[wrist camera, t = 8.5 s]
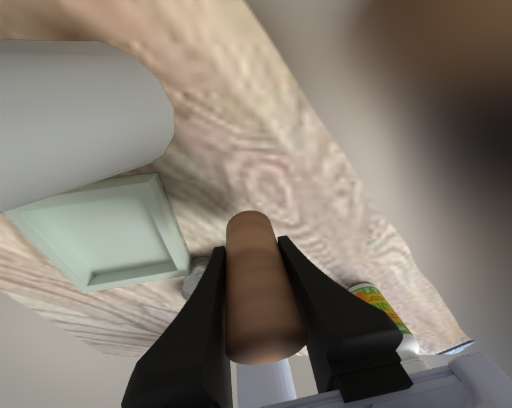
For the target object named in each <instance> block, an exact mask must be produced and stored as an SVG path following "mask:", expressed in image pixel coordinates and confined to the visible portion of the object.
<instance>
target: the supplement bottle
mask: <svg viewBox="0 0 512 408" xmlns="http://www.w3.org/2000/svg"><path fill="white" fill-rule="evenodd" d="M348 291H349V292H351V293H352V294H354V295H356V296H357V297H359V298H361V299H362V300H364V301H366V302H368V303H369V304H371V305H373V306H375V307H377V308H379V309H381V310H383V311H385V312H386V313H387V314H388V316H389V317H390V318H391V319H392V320H393V321H394V323H395V324H396V325H397V326H398V328H399V329H400V331H401V332H402V333H403V340H402V342H401V344H400V345H399V347H398V348H397V350H396V352H397V353H398V355H399V356H400V358H401V360H402V361H401V362H400V363H401V365H402V366H403V368H404V369H405V371H406V372H407V374H410V373H414V372H419V371H423V370H428V369H430V368H429V367H428V365H427V364H426V363H425V362H424V361H423V360H422V359H419V357H418V356H417V353H418V351H419V344H418V342H417V340H416V339H415V337H414V336H413V335H412V333H411V332H410V331H409V329H408V328H407V327H406V325H405V324H404V323H403V322H402V320H401V319H400V318H399V316H398V315H397V314H396V312H395V311H394V310H393V308H392V307H391V306H390V305H389V303H388V302H387V301H386V299H385V298H384V297H383V295H382V294H381V293H380V291H379V290H378V289H377V288H376V287H375V286H374V285H372V284H369V283H362V284H358V285H355V286H353V287H351V288H349V289H348Z"/></svg>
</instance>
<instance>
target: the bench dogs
mask: <svg viewBox="0 0 512 408" xmlns="http://www.w3.org/2000/svg"><path fill="white" fill-rule="evenodd" d="M209 260H210V258H208V257H196V258H193V259H192V262H191V267H190V272H189V274H188V275H185V278H184V283H183V287H182V291H181V294H182V296H183V298H185V299H186V300H188V299H189V298H190V296H191V294H192V293H193V291H194V289H195V288H196V286H197V284H198V282H199V280H200V279H201V277H202V275H203V273H204V271H205V269H206V267H207V264H208V262H209Z"/></svg>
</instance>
